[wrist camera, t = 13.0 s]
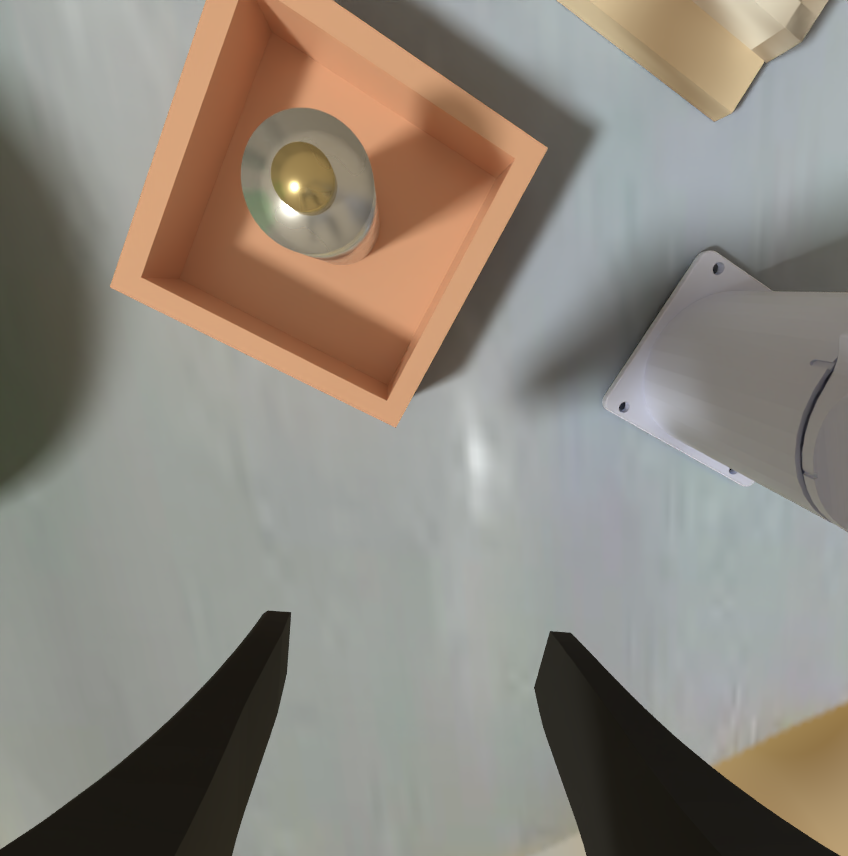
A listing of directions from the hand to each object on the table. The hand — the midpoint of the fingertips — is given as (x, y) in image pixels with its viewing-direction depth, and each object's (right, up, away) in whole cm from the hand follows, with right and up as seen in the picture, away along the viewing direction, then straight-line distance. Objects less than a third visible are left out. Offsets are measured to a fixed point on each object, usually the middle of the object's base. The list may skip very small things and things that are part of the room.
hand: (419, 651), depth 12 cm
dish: (-3, +14, +6) cm, 16 cm away
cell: (-3, +14, +5) cm, 16 cm away
